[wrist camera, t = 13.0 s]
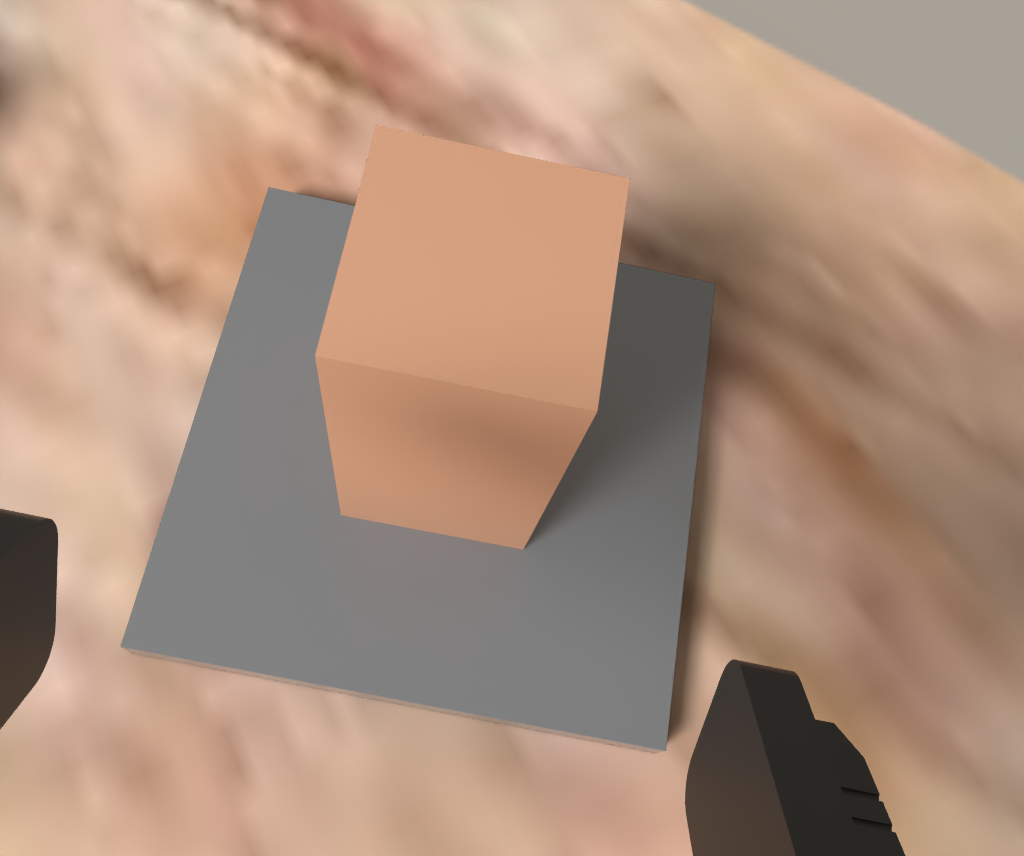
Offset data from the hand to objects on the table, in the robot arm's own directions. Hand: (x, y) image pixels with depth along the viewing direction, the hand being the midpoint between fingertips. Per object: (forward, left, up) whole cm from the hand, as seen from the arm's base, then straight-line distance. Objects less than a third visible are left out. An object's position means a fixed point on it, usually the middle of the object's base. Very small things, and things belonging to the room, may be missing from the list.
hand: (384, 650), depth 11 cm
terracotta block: (0, -8, -14) cm, 16 cm away
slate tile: (0, -8, -15) cm, 17 cm away
